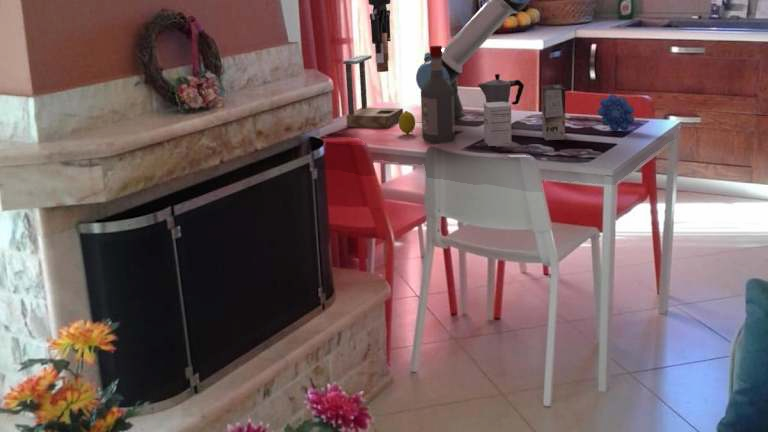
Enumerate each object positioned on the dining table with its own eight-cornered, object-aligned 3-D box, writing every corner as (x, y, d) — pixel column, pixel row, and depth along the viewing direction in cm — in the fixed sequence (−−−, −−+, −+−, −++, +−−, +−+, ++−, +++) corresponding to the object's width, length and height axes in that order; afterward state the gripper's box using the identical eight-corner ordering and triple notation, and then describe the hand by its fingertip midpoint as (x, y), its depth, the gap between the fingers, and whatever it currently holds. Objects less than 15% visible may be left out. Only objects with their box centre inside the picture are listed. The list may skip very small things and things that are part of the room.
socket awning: (403, 119, 321) (400, 55, 314) (389, 127, 309) (385, 61, 302) (362, 118, 327) (358, 55, 320) (347, 126, 315) (342, 61, 308)
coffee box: (565, 139, 279) (566, 88, 274) (545, 140, 279) (545, 89, 275) (560, 133, 288) (561, 83, 283) (541, 134, 288) (541, 84, 283)
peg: (390, 70, 312) (388, 32, 308) (385, 72, 309) (384, 34, 305) (379, 70, 314) (377, 32, 310) (375, 71, 310) (373, 34, 306)
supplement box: (483, 142, 282) (483, 102, 278) (506, 140, 282) (506, 101, 278) (488, 147, 275) (487, 106, 271) (512, 145, 275) (511, 105, 271)
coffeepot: (480, 131, 297) (479, 77, 291) (476, 125, 306) (475, 72, 300) (526, 128, 297) (526, 74, 292) (521, 122, 306) (521, 70, 301)
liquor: (432, 144, 282) (429, 49, 273) (420, 139, 290) (416, 46, 281) (458, 140, 285) (455, 46, 276) (444, 135, 293) (442, 43, 284)
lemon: (417, 132, 299) (416, 109, 297) (412, 136, 294) (411, 112, 292) (402, 132, 301) (401, 109, 298) (397, 136, 296) (395, 112, 294)
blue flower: (595, 133, 285) (596, 96, 281) (597, 129, 291) (598, 92, 287) (633, 134, 281) (634, 96, 278) (634, 129, 287) (635, 92, 284)
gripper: (378, -10, 312) (381, 58, 319) (359, -6, 297) (363, 65, 304) (398, -10, 309) (401, 58, 316) (380, -6, 294) (383, 65, 301)
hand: (382, 61), depth 310 cm, fingers closed on peg, 4 cm apart
